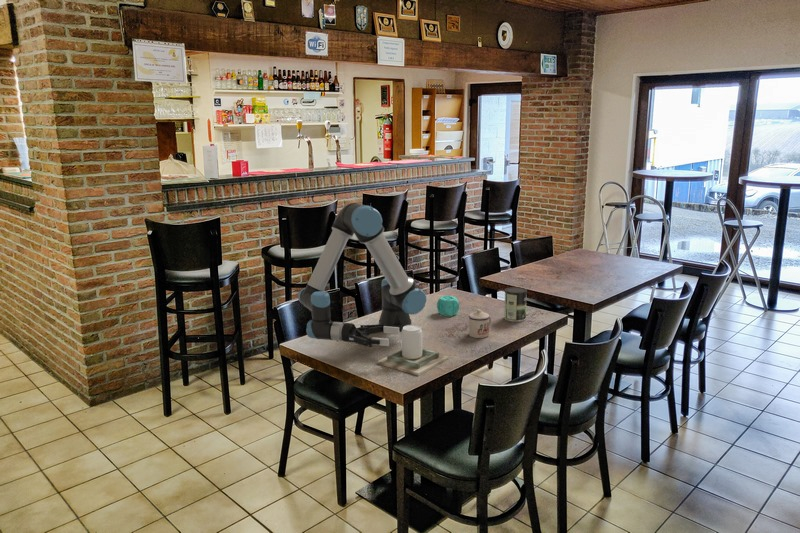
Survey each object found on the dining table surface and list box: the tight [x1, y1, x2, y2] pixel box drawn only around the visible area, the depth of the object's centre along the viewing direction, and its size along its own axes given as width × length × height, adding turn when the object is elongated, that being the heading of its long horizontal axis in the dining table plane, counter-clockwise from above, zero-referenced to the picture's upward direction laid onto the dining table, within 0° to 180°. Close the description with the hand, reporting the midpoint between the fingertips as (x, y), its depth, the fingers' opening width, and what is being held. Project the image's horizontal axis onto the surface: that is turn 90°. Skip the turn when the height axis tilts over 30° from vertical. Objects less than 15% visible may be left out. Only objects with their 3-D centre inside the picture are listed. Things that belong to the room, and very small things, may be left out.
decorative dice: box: [436, 295, 460, 317], centre depth 297 cm, size 8×8×8 cm
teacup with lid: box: [468, 308, 492, 339], centre depth 268 cm, size 12×9×12 cm
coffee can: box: [503, 286, 528, 323], centre depth 288 cm, size 10×10×14 cm
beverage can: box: [401, 324, 423, 359], centre depth 241 cm, size 8×8×12 cm
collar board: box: [377, 348, 449, 377], centre depth 240 cm, size 20×20×3 cm
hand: (394, 336), depth 241 cm, fingers open, 13 cm apart
